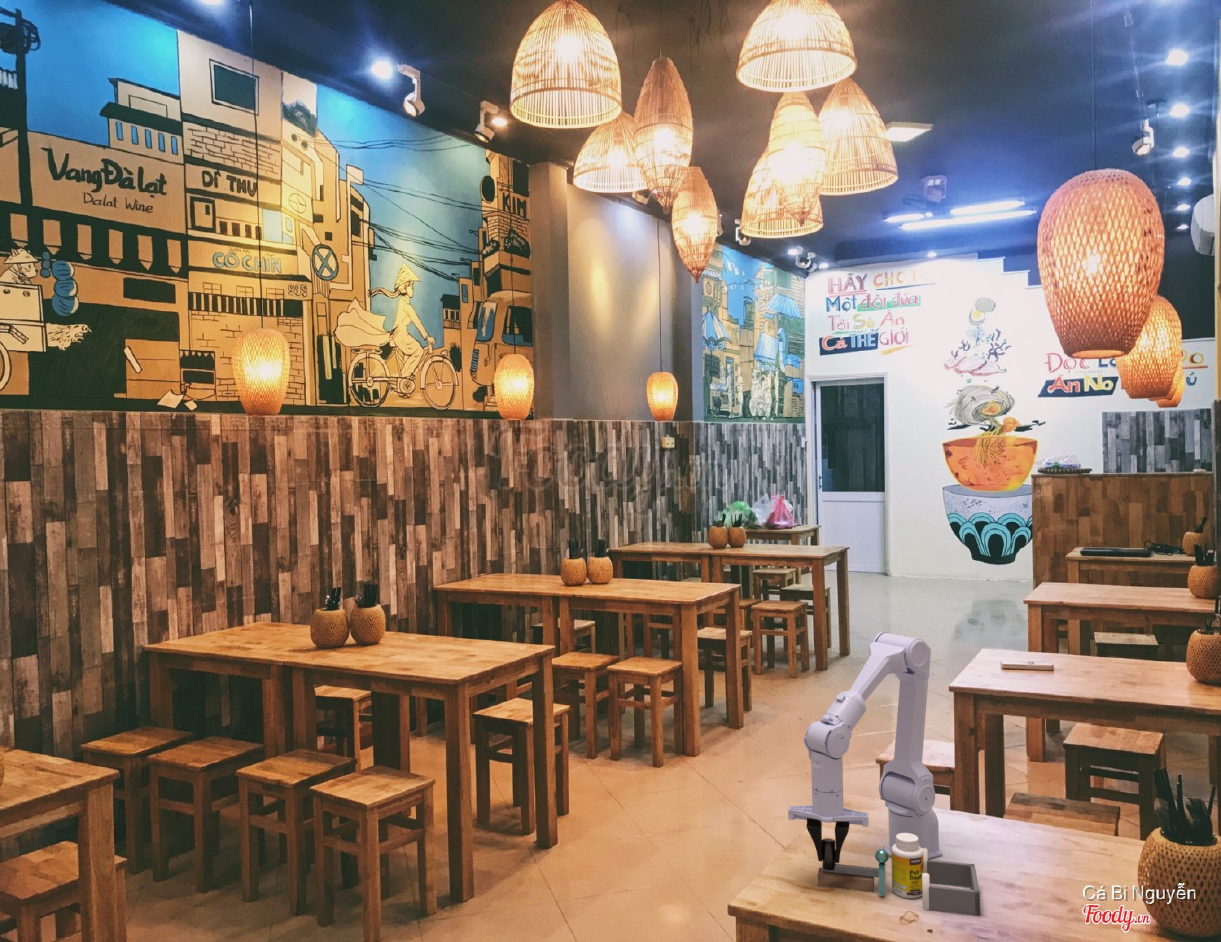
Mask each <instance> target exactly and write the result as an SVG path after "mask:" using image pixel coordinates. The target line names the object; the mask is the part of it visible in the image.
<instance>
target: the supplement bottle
mask: <svg viewBox="0 0 1221 942" xmlns="http://www.w3.org/2000/svg"><path fill="white" fill-rule="evenodd" d="M922 873H924V863H923V850H922V848H921V847H920V846H919V839H918V837H917V836H916V835H914V834H910V833H899V834H897V835H896V844H894V845H893V846H892V857H891V889H892V892H893V893H894V894H895V895H897V896H899V897H902V898H906V899H919V898H920V897H923V893H922Z"/></svg>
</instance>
